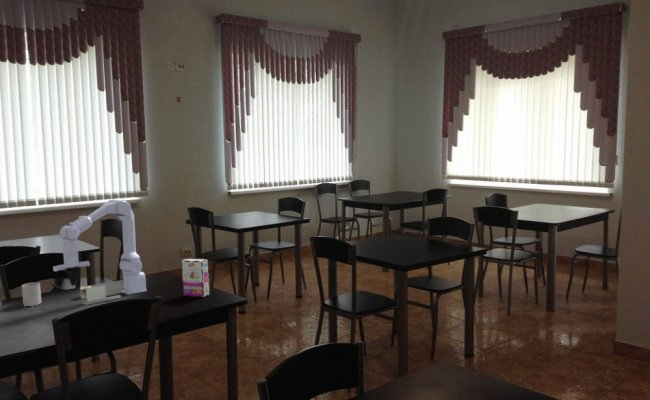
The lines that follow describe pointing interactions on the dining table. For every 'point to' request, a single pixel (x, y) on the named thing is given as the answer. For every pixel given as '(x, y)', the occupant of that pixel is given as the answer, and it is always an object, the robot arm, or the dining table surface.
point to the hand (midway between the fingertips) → (73, 285)
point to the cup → (31, 294)
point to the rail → (102, 300)
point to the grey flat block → (95, 293)
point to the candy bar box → (195, 277)
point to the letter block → (84, 291)
